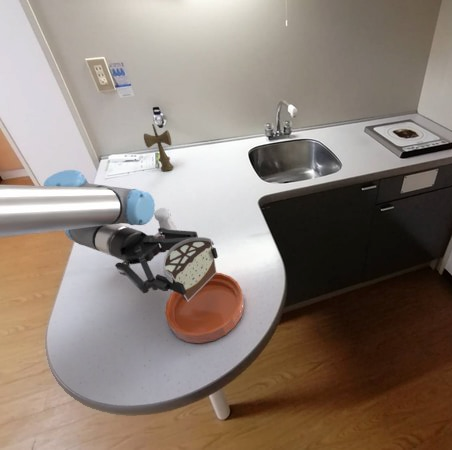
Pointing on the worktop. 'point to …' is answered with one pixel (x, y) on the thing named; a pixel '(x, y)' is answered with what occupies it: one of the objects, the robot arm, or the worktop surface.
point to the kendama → (160, 147)
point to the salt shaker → (164, 219)
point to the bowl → (206, 310)
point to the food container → (190, 264)
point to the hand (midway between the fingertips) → (200, 270)
